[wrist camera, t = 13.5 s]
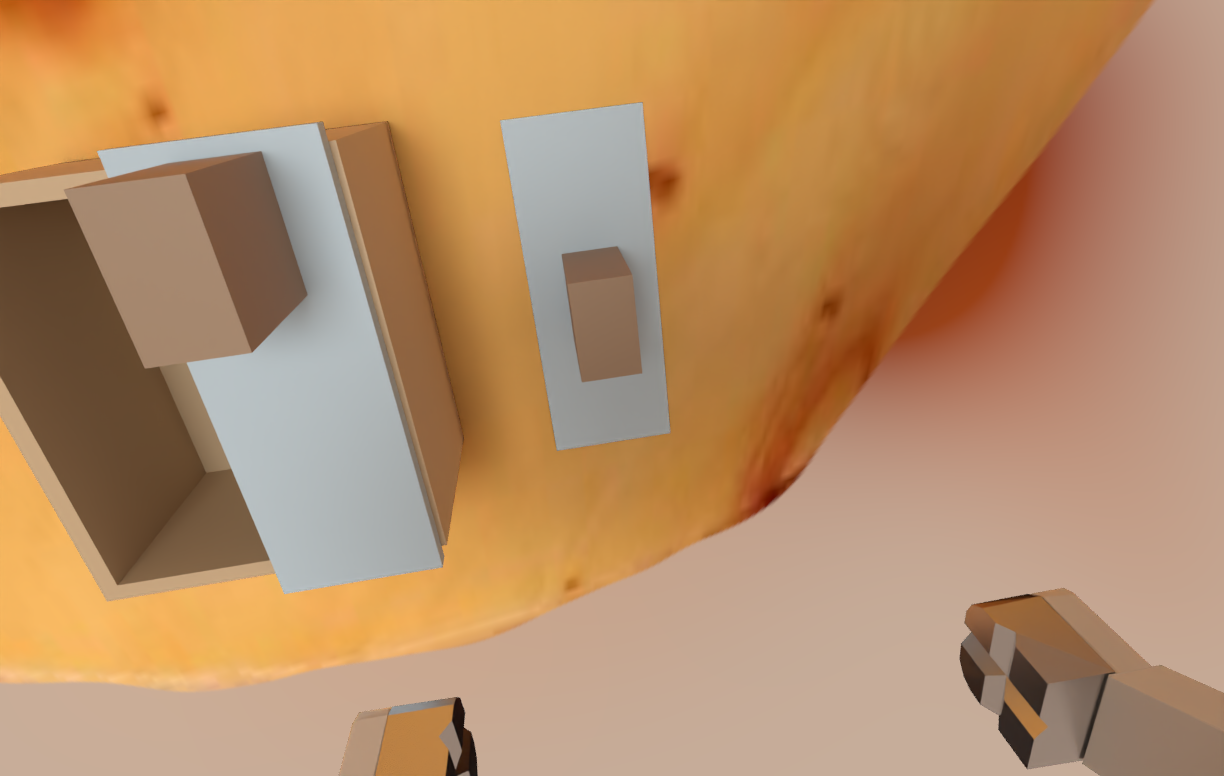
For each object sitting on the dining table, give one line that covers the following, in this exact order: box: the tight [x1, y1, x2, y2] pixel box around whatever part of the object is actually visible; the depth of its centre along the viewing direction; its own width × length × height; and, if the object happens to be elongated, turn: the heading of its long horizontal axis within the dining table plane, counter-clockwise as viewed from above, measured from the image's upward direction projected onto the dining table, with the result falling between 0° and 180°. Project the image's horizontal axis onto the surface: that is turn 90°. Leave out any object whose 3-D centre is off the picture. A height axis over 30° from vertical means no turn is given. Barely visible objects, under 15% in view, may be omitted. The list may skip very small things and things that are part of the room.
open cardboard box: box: [0, 121, 464, 601], centre depth 25 cm, size 12×14×8 cm
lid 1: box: [64, 122, 444, 594], centre depth 19 cm, size 6×15×5 cm, turn 7°
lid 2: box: [500, 102, 670, 451], centre depth 28 cm, size 6×15×5 cm, turn 6°
